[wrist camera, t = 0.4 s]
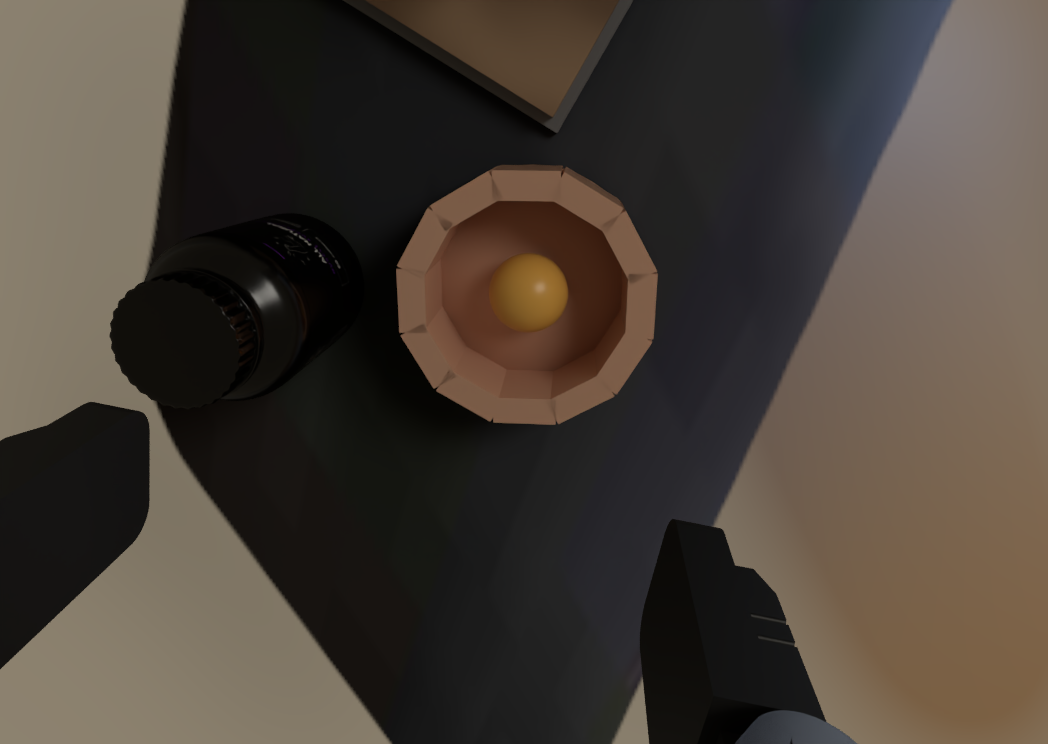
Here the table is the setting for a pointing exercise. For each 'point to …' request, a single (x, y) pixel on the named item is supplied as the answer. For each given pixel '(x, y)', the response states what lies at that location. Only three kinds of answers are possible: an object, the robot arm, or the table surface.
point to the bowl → (503, 353)
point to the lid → (512, 39)
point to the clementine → (528, 292)
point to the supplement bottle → (237, 310)
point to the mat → (550, 122)
